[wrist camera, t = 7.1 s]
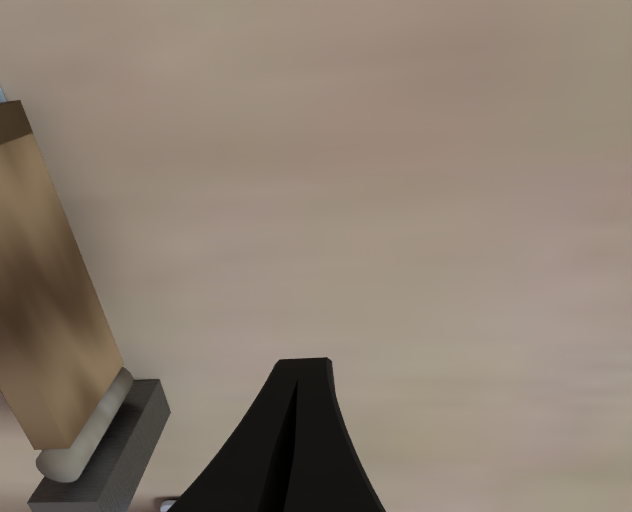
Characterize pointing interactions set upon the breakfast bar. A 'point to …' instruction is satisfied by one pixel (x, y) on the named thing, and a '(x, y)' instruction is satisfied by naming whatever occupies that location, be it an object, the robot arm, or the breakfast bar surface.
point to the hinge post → (112, 458)
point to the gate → (50, 316)
